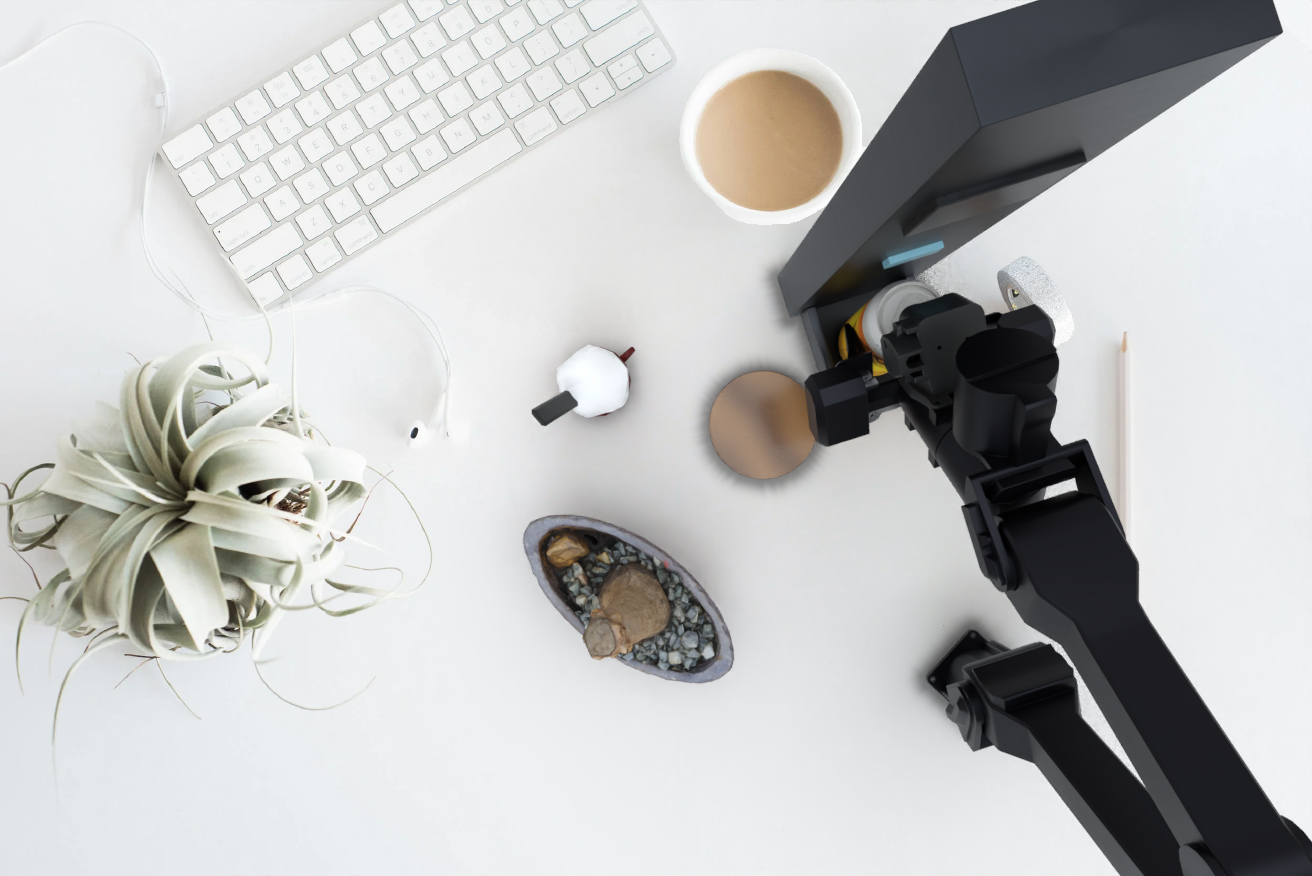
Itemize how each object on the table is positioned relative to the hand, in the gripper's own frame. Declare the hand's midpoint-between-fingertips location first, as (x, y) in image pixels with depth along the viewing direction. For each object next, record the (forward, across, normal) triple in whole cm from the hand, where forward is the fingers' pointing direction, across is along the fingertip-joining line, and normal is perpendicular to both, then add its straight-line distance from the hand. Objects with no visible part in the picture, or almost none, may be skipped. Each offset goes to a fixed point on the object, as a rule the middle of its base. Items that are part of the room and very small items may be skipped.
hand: (883, 315), depth 69 cm
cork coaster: (+2, +11, +10) cm, 15 cm away
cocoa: (+8, +25, +4) cm, 27 cm away
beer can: (+4, 0, +6) cm, 8 cm away
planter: (-6, +27, +17) cm, 33 cm away
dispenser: (+6, 0, +5) cm, 8 cm away
